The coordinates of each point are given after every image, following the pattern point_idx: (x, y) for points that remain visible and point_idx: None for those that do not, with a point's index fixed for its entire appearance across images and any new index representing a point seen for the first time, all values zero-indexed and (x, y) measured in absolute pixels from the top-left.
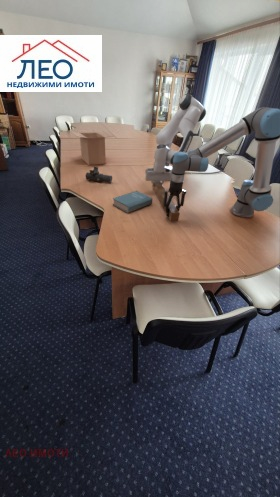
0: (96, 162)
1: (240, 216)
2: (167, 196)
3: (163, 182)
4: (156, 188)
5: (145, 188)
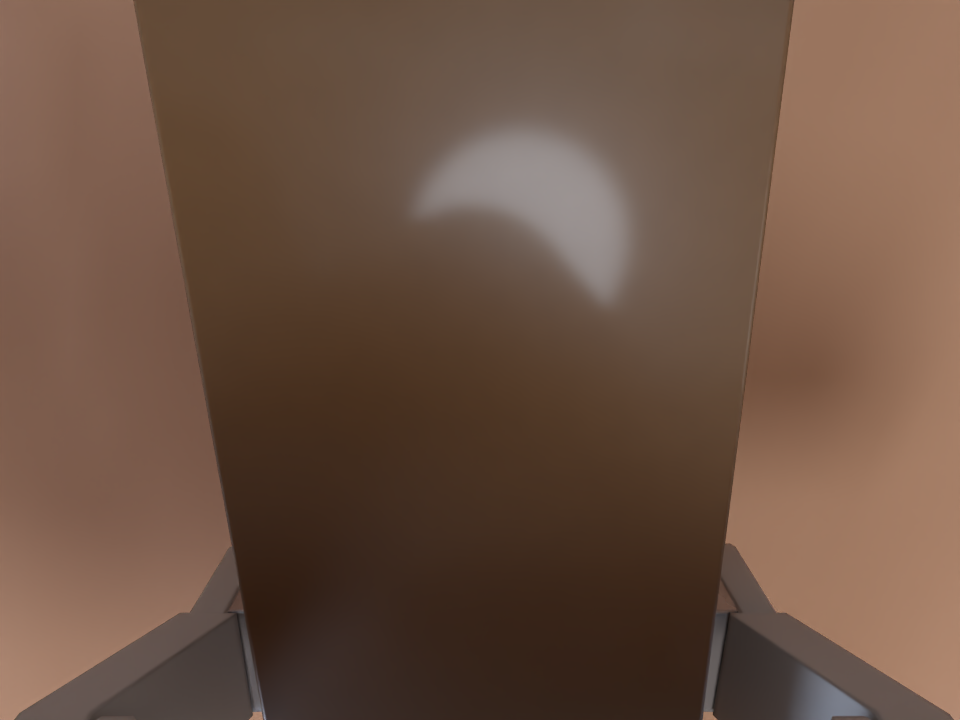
0: None
1: None
2: None
3: (65, 703)
4: None
5: None
